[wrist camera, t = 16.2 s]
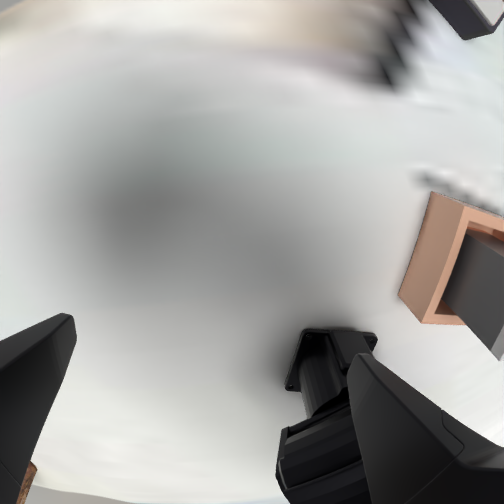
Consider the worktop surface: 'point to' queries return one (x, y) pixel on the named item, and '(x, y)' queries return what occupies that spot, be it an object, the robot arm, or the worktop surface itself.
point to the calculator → (471, 16)
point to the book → (26, 483)
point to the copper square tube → (441, 255)
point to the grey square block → (479, 288)
